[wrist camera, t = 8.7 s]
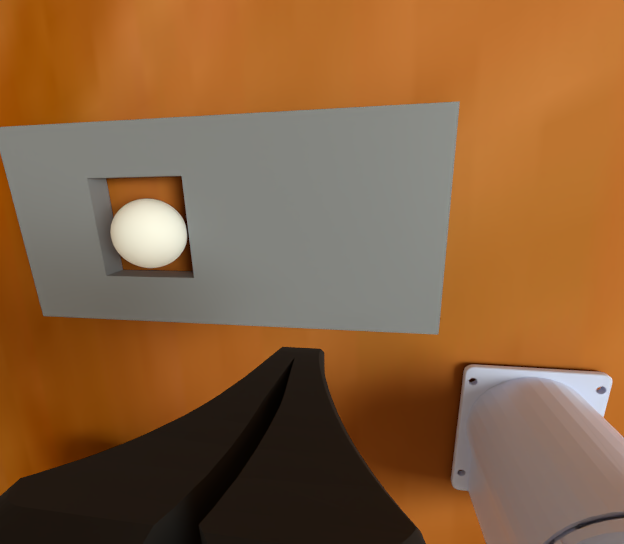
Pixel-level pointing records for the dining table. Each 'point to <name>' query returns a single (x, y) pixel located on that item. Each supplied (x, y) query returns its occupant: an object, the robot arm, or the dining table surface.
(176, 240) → the ball
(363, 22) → the dining table surface
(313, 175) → the board
